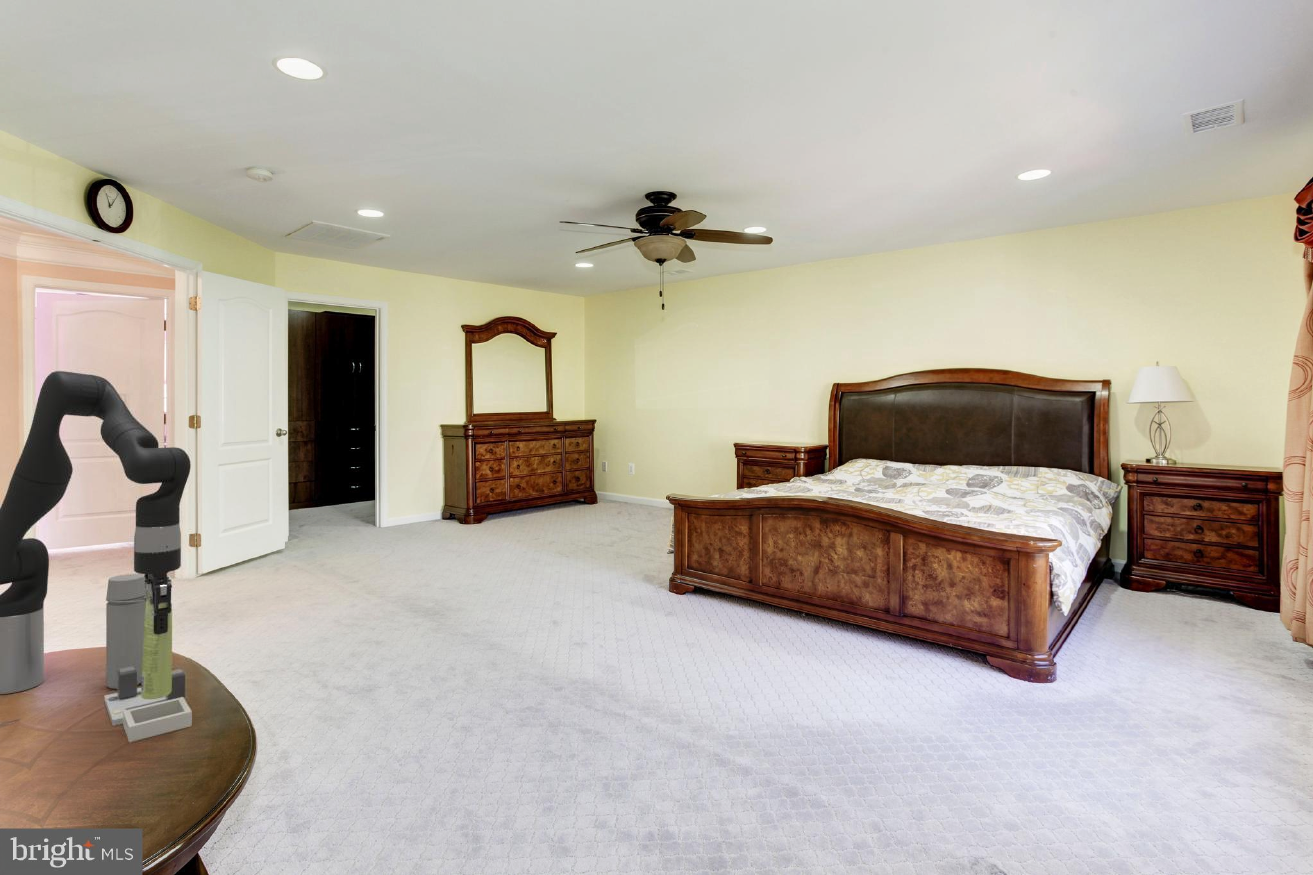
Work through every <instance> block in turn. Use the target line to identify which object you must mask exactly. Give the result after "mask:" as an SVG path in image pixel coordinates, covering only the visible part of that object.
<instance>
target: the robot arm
mask: <svg viewBox="0 0 1313 875" xmlns="http://www.w3.org/2000/svg"><path fill="white" fill-rule="evenodd" d="M65 416H74V417H75V416H76V417H95V418H98V419H100V420H102V423H101V425H100V436H101V439H102V441H104V443H105V444H106V446H107V447H109V448H110V450H112V452H114V453H115V454H116V455H117V456H118V458H119V460H120V462H121V464H122V468H123V472H124V474H125V477H126V478H127V479H128V480H130V481H131V482H133V483H135V484H140V485H148V484H149V485H150V484H160V486H159V488H158V489H157V490H156V491H155V492H153V493H150V494H146V495H143V496H141V497H139V498H137V500H136V503H135V530H134V531H135V532H134V535H133V571H134V572H135V574H143V575H144V577H145V580H144V587H145V593H144V595H145V601H146V599H148V600H149V604H150V605H152V607H153V612H152V615H153V632H154V634H156V635H158V634H163V633H166V632H167V631H168V614H169V613H171V603H172V588H173V585H172V584H173V583H172V579H170V577H169V576H168V573H170V572H175V571H177V570H179V569H180V568H181V566H182V532H181V527H180V518H181V517H180V514H181V513H180V512H181V511H180V508H181V507H180V505H181V502H182V497H183V493H184V490H185V489H186V488H185V487H186V484H187V482H188V480H189V477H190V476H189V475H190V472H191V466H192V465H191V460H190V456H189V454H188V453H187V452H186V451H185V450H184V449H182V448H180V447H177V446H176V447H175V446H174V447H173V446H171V447H159V441H158V439H157V438H156V436H155V435H154V434H153V433H152V432H151V431H150V430H148V429H147V428H146V427H145V426H144V425H143V424H142V423H140V422H139V421H138V420H137V419H136V417H134V415H133V413H131V411H130V410H129V408H128V406H127V405H126V403H125V401H124V400H123V399H122V397H121V395H120V393H118V391H117V389H116V388H115V387H114V386H113V384H111V382H110V380H109V381H108V380H107V379H106V378H104V377H103V376H98V375H95V374H87V373H86V374H85V373H81V372H78V373H77V372H72V371H65V370H64V371H63V370H56V371H52V372H51V373H49V374H48V375H47V377H45V379H44V381H43V383H42V385H41V388H40V392H39V395H38V398H37V401H36V406H35V410H34V414H33V417H32V418H33V419H32V420H31V421H32V423H31V426H30V429H29V431H28V432H29V433H28V435H27V439H26V442H25V444H24V446H23V449H22V452H21V454H20V456H19V459H18V462H17V464H16V466H15V468H14V470H13V474H12V476H11V479H10V480H9V484H8V487H7V490H6V493H5V496H4V499H3V501H2V504H1V505H0V586H1V585H6V584H7V585H8V584H10V586H9V587H8V588H7V589H6V590H5V591H4V592H1V594H0V695H5V694H12V693H14V694H15V693H19V692H23V691H26V690H31V689H33V688H35V687H37V686H39V685H41V684H43V683H44V681H45V670H44V669H45V666H44V664H45V634H44V633H45V627H44V626H45V621H44V613H45V612H44V609H45V608H44V605H45V604H44V602H45V599H46V597H47V594H48V583H49V571H50V556H49V551H48V549H47V546H46V544H44V542H43V541H42V540H40V539H38V538H35V537H32V538H31V537H29V538H24V537H25V535H26V534H27V533H28V531H29V530H30V529H31V528H32V527H33V526H34V525H35V524H37V523H38V522H39V521H40V520H41V519H42V518H43V517H45V516H46V515H47V514H48V513H49V512H50V511H51V510H52V509H54V508H55V507H56V506H57V504H59V503H60V501H61V500H62V499H63V498H64V495H65V493H66V491H67V488H68V486H69V484H70V481H71V479H72V475H73V471H74V470H73V469H74V468H73V464H72V460H71V459H70V458H71V457H70V456H69V455H68V452H67V451H66V448H65V446H64V445H63V442H62V439H61V436H60V429H61V424H62V422H63V421H62V420H63V418H64V417H65ZM159 604H165V608H159Z"/></svg>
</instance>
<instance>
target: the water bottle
mask: <svg viewBox="0 0 1313 875" xmlns="http://www.w3.org/2000/svg"><path fill="white" fill-rule="evenodd" d="M144 575H145V574H139V573H126V574H120V575H116V576H112V577H109V578H108V581H107V582H108V583H107V590H106V597H105V601H106V604H105V606H106V608H105V610H106V611H105V620H106V623H105V624H106V626H105V627H106V629H105V631H106V633H105V637H106V640H105V641H106V642H105V643H106V644H105V647H106V650H105V651H106V653H105V656H106V657H105V658H106V659H105V660H106V661H105V662H106V663H105V666H106V667H105V668H106V671H105V675H106V676H105V677H106V682H105V683H106V686H107V687H108V688H109V689H111V690H117V672H118V671H119V669H122V668H127V667H132V666H134V668H135V669H136V671H137V686H138V685H142V662H143V640H144V623H145V608H146V601H145V595H144V593H145V587H144V580H145V577H144Z"/></svg>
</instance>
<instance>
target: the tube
mask: <svg viewBox="0 0 1313 875" xmlns="http://www.w3.org/2000/svg"><path fill="white" fill-rule="evenodd" d="M159 608H165V604H159ZM152 612H153V607H152V605H150V604H149V600H148V599H146V608H145V623H144V640H143V662H142V683H141V687H140V688H141V697H142V698H143V699H158V698H162V697H165V696H167V695H169V694H170V693H171V691H172V671H173V604H172V602H171V613H169V614H168V631H167V632H166V633H163V634H158V635H156V634H154V632H153V615H152Z"/></svg>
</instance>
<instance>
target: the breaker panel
mask: <svg viewBox="0 0 1313 875" xmlns="http://www.w3.org/2000/svg"><path fill="white" fill-rule="evenodd" d="M164 701H167V699H166V696H165V697H162V698H158V699H143V698H142V697H141V687H137V695H134V696H130V697H125V698H121V699H119V697H118V694H117V692H115V693H110V694H105V695H104V704H105V708H106V709H107V710H106V711H107V712H108V716H109V719H110V721H111V725H112V726H113V727H114V726H118V725H119V726H120V725H123V711H125V710H129V709H134V708H138V707H142V706H146V705H151V704H155V703H159V702H164Z"/></svg>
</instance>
